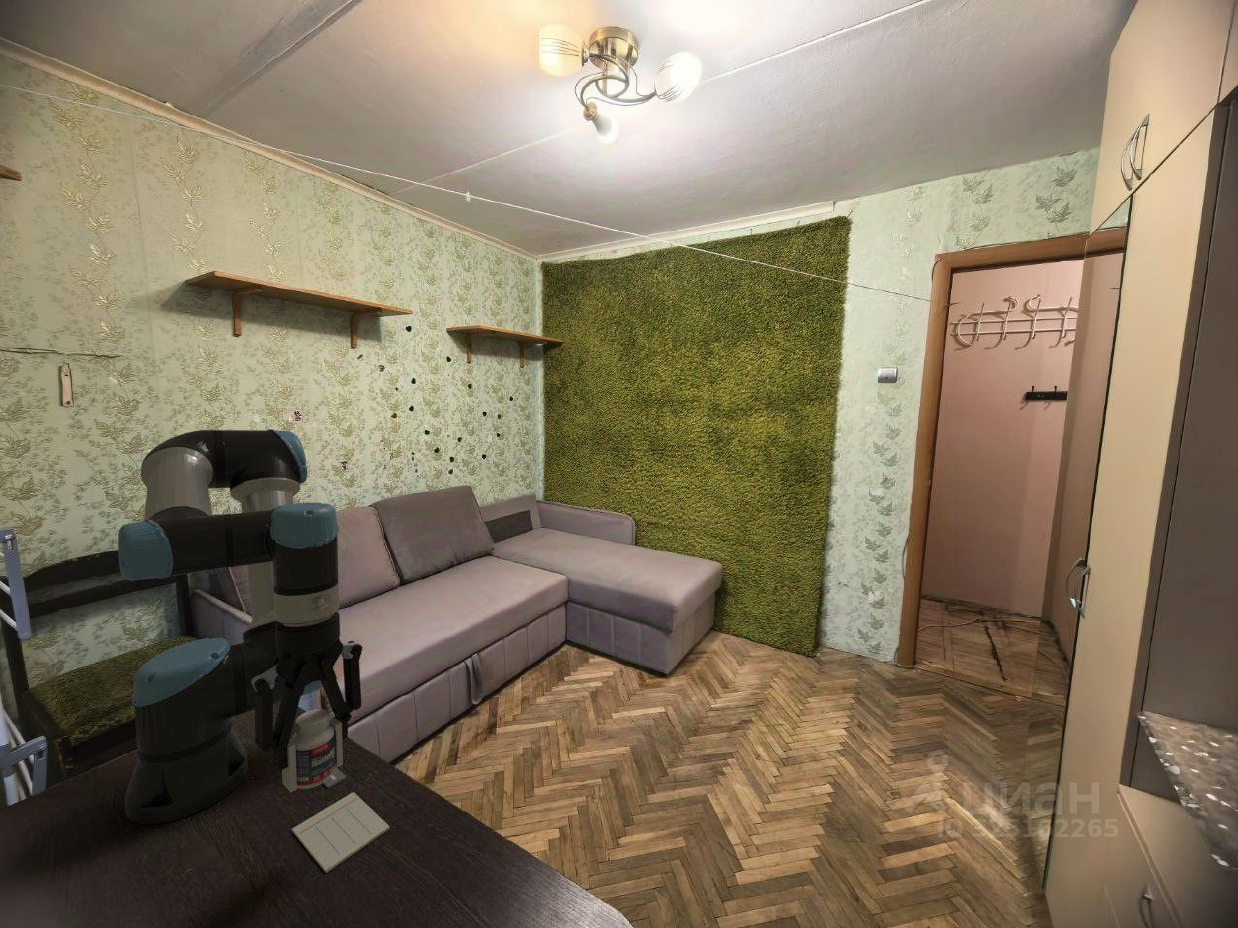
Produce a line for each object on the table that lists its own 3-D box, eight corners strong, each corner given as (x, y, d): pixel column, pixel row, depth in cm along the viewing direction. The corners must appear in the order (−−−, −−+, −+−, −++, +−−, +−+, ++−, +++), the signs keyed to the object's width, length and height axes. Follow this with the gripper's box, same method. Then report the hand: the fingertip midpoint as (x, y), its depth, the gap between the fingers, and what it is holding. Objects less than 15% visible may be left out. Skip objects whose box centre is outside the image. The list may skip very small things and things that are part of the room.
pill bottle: (314, 793, 66) (312, 731, 65) (282, 786, 67) (279, 725, 66) (343, 766, 71) (342, 708, 70) (313, 760, 72) (311, 703, 71)
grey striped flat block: (311, 772, 84) (311, 770, 84) (330, 762, 87) (330, 760, 87) (328, 788, 81) (327, 786, 81) (346, 778, 83) (346, 776, 83)
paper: (291, 831, 73) (291, 828, 72) (353, 794, 80) (353, 791, 80) (326, 872, 66) (325, 870, 66) (389, 828, 74) (389, 826, 73)
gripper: (236, 648, 57) (245, 830, 59) (387, 603, 72) (389, 749, 74) (215, 631, 61) (224, 801, 64) (361, 591, 76) (364, 730, 79)
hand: (313, 773), depth 69 cm, fingers closed on pill bottle, 5 cm apart
